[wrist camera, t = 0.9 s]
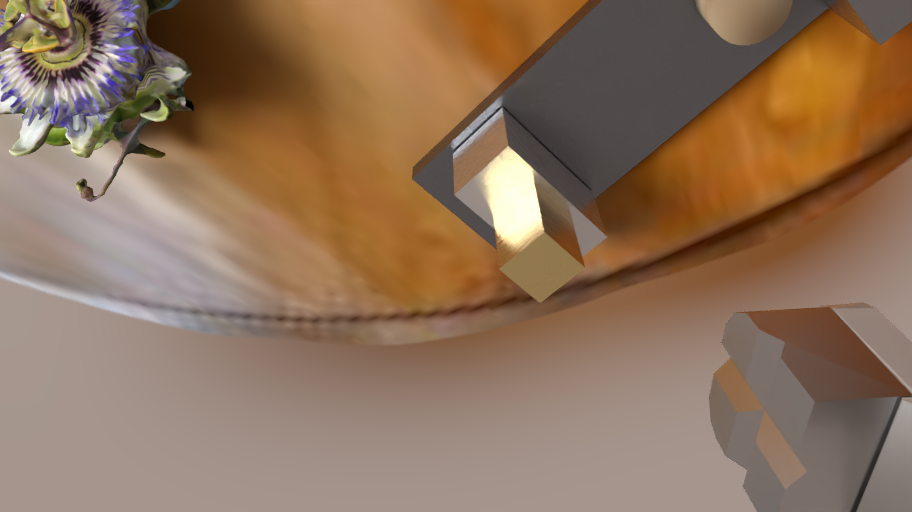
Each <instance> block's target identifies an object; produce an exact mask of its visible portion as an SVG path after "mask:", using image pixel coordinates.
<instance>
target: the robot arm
mask: <svg viewBox="0 0 912 512" xmlns="http://www.w3.org/2000/svg"><path fill="white" fill-rule="evenodd" d="M721 343H722V345H723V347H724V348H725V350H726V351H727V353H728V355H729V356H730V359H729V360H728V361H727V362H726V363H724V365H722V366H721V368H719V369H718V370H717V371H716V372H715V373H714V375H713V380H712V385H711V390H710V395H709V405H710V418H711V423H712V427H713V430H714V433H715V436H716V439H717V441H718V443H719V445H720V446H721V448H722V450H723V452H724V454H725V456H727V457H728V458H730V459H731V460H733V461H734V462H736V463H738V464H739V465H740V466H742V467H744V468H745V469H747V473H746V477H745V480H744V484H743V488H744V489H745V491H746V493H747V495H748V496H749V498H750V500H751V501H752V503H753V505H754V507H755V508H756V510H757V512H912V342H911V341H910V340H909V339H908V338H907V337H906V336H905V335H904V334H903V333H901V332H900V331H899V330H898V329H897V328H896V327H895V326H894V325H893V324H892V323H891V322H890V321H889V320H888V319H887V318H886V317H885V316H884V315H883V314H882V313H881V312H880V311H879V310H878V309H877V308H875V307H873V306H870V305H868V304H865V303H852V304H840V305H827V306H820V307H818V308H803V309H786V310H770V311H755V312H736V313H733V315H732V316H731V317H730V319H729V320H728V322H727V323H726V326H725V330H724V334H723V338H722V342H721Z"/></svg>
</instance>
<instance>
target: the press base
mask: <svg viewBox="0 0 912 512" xmlns="http://www.w3.org/2000/svg"><path fill="white" fill-rule="evenodd" d="M828 8H829V9H830V10H832V11H833V12H835V13H836V14H837V15H839V16H840V17H842V18H843V19H844V20H846V21H847V22H849V23H850V24H851V25H853V26H854V27H856V28H857V29H858V30H860V31H861V32H863V33H864V34H865V35H867V36H868V37H869V38H871V39H872V40H874V41H875V42H876V43H878V44H879V45H882V44H883V43H884V42H885V41H887V40H888V39H889V38H891V37H892V36H893V35H894V34H896V33H897V32H898V31H900V30H901V29H902V28H904V27H905V26H906V25H907V24H909V23H910V22H911V21H912V0H793V2H792V7H791V10H790V13H789V15H788V17H787V19H786V21H785V22H784V23H783V25H782V26H781V27H780V28H779V29H778V30H777V31H776V32H775V33H774V34H773V35H771V36H770V37H769V38H767V39H765V40H763V41H761V42H759V43H756V44H751V45H736V44H732V43H729V42H727V41H725V40H724V39H723V38H721V37H720V36H719V35H718V34H717V33H716V31H715V30H714V29H713V28H712V27H711V26H710V25H709V24H708V23H707V22H706V20H705V19H704V18H703V17H702V16H701V15H700V13H699V11H698V9H697V7H696V3H695V0H589V1H588V2H587V3H586V4H585V5H584V6H583V7H582V8H581V9H580V10H579V11H578V12H576V13H575V14H574V15H573V16H572V17H571V18H570V19H569V20H568V21H567V22H566V23H565V24H564V25H563V26H562V27H561V28H560V29H559V30H557V31H556V32H555V33H554V34H553V35H552V36H551V37H550V38H549V39H548V40H547V41H546V42H545V43H544V44H543V45H542V46H541V47H540V48H538V49H537V50H536V51H535V52H534V53H533V54H532V55H531V56H530V57H529V58H528V59H527V60H526V61H525V62H524V63H523V64H522V65H521V66H519V67H518V68H517V69H516V70H515V71H514V72H513V73H512V74H511V75H510V76H509V77H508V78H507V79H506V80H505V81H504V82H503V83H502V84H501V85H499V86H498V87H497V88H496V89H495V90H494V91H493V92H492V93H491V94H490V95H489V96H488V97H487V98H486V99H485V100H484V101H483V102H482V103H480V104H479V105H478V106H477V107H476V108H475V109H474V110H473V111H472V112H471V113H470V114H469V115H468V116H467V117H466V118H465V119H464V120H463V121H461V122H460V123H459V124H458V125H457V126H456V127H455V128H454V129H453V130H452V131H451V132H450V133H449V134H448V135H447V136H446V137H445V138H444V139H442V140H441V141H440V142H439V143H438V144H437V145H436V146H435V147H434V148H433V149H432V150H431V151H430V152H429V153H428V154H427V155H426V156H425V157H423V158H422V159H421V160H420V161H419V162H418V163H417V164H416V165H415V166H414V167H413V175H412V179H413V180H414V181H415V182H416V183H418V184H419V185H420V186H421V187H422V188H424V189H425V190H426V191H427V192H428V193H430V194H431V195H432V196H433V197H434V198H436V199H437V200H438V201H439V202H440V203H442V204H443V205H444V206H445V207H446V208H448V209H449V210H450V211H451V212H452V213H454V214H455V215H456V216H457V217H458V218H460V219H461V220H462V221H463V222H464V223H466V224H467V225H468V226H469V227H470V228H471V229H473V230H474V231H475V232H476V233H477V234H479V235H480V236H481V237H482V238H483V239H485V240H486V241H487V242H488V243H489V244H491V245H492V246H493V247H494V248H495V249H497V246H496V236H495V229H494V228H493V227H491V226H490V225H489V224H488V223H487V222H485V221H484V220H483V219H482V218H481V217H480V216H478V215H477V214H476V213H475V212H474V211H472V210H471V209H470V208H469V207H468V206H467V205H465V204H464V203H463V202H462V201H461V200H460V199H458V198H457V197H456V196H455V195H454V169H453V153H454V152H455V151H456V150H457V149H458V148H459V147H460V146H461V145H462V144H463V143H465V142H466V141H467V140H468V139H469V138H470V137H471V136H472V135H473V134H474V133H475V132H476V131H477V130H479V129H480V128H481V127H482V126H483V125H484V124H485V123H486V122H487V121H488V120H489V119H490V118H491V117H492V116H494V115H495V114H496V113H497V112H498V111H499V110H500V109H501V108H503V109H504V110H506V111H507V112H508V113H509V114H510V115H511V116H512V117H513V118H514V119H515V120H516V121H517V122H518V123H519V124H520V125H521V126H522V127H524V128H525V129H526V130H527V131H528V132H529V133H530V134H531V135H532V136H533V137H534V138H535V139H536V140H537V141H538V142H539V143H541V144H542V145H543V146H544V147H545V148H546V149H547V150H548V151H549V152H550V153H551V154H552V155H553V156H554V157H555V158H556V159H557V160H559V161H560V162H561V163H562V164H563V165H564V166H565V167H566V168H567V169H568V170H569V171H570V172H571V173H572V174H573V175H574V176H575V177H577V178H578V179H579V180H580V181H581V182H582V183H583V184H584V185H585V186H586V187H587V188H588V189H589V190H590V191H591V192H592V193H593V194H594V197H595V198H597V197H598V196H599V195H600V194H601V193H603V192H604V191H605V190H606V189H608V188H609V187H610V186H611V185H612V184H614V183H615V182H616V181H617V180H619V179H620V178H621V177H622V176H623V175H625V174H626V173H627V172H628V171H630V170H631V169H632V168H633V167H634V166H636V165H637V164H638V163H639V162H641V161H642V160H643V159H644V158H645V157H647V156H648V155H649V154H650V153H652V152H653V151H654V150H655V149H656V148H658V147H659V146H660V145H661V144H663V143H664V142H665V141H666V140H667V139H669V138H670V137H671V136H672V135H674V134H675V133H676V132H677V131H678V130H680V129H681V128H682V127H683V126H685V125H686V124H687V123H688V122H689V121H691V120H692V119H693V118H694V117H696V116H697V115H698V114H699V113H701V112H702V111H703V110H704V109H705V108H707V107H708V106H709V105H710V104H712V103H713V102H714V101H715V100H716V99H718V98H719V97H720V96H721V95H723V94H724V93H725V92H726V91H727V90H729V89H730V88H731V87H732V86H734V85H735V84H736V83H737V82H738V81H740V80H741V79H742V78H743V77H745V76H746V75H747V74H748V73H749V72H751V71H752V70H753V69H754V68H756V67H757V66H758V65H759V64H760V63H762V62H763V61H764V60H765V59H767V58H768V57H769V56H770V55H771V54H773V53H774V52H775V51H776V50H778V49H779V48H780V47H781V46H782V45H784V44H785V43H786V42H787V41H789V40H790V39H791V38H792V37H793V36H795V35H796V34H797V33H798V32H800V31H801V30H802V29H803V28H805V27H806V26H807V25H808V24H809V23H811V22H812V21H813V20H814V19H816V18H817V17H818V16H819V15H820V14H822V13H823V12H824V11H825V10H827V9H828Z"/></svg>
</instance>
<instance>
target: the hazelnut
mask: <svg viewBox="0 0 912 512" xmlns="http://www.w3.org/2000/svg"><path fill="white" fill-rule="evenodd" d="M792 2H793V0H695V3H696V7H697V9H698V11H699V13H700V15H701V16H702V17H703V18H704V19H705V20H706V22H707V23H708V24H709V25H710V26H711V27H712V28H713V29H714V30H715V31H716V33H717V34H718V35H719V36H720V37H721V38H723V39H724V40H725V41H727V42H729V43H732V44H736V45H751V44H756V43H759V42H761V41H763V40H765V39H767V38H769V37H770V36H771V35H773V34H774V33H775V32H776V31H777V30H778V29H779V28H780V27H781V26H782V25H783V23H784V22H785V21H786V19H787V17H788V15H789V13H790V10H791V7H792Z"/></svg>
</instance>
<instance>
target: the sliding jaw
mask: <svg viewBox="0 0 912 512" xmlns="http://www.w3.org/2000/svg"><path fill="white" fill-rule="evenodd" d="M453 169H454V195H455V196H456V197H457V198H458V199H460V200H461V201H462V202H463V203H464V204H465V205H467V206H468V207H469V208H470V209H471V210H472V211H474V212H475V213H476V214H477V215H478V216H480V217H481V218H482V219H483V220H484V221H485V222H487V223H488V224H489V225H490V226H491V227H493V228H494V229H495V236H496V246H497V255H498V264H499V270H501V271H502V272H503V273H504V274H505V275H507V276H508V277H509V278H510V279H511V280H513V281H514V282H515V283H516V284H518V285H519V286H520V287H521V288H522V289H524V290H525V291H526V292H527V293H529V294H530V295H531V296H532V297H533V298H535V299H536V300H537V301H538V302H539V303H541V302H542V301H543V300H544V299H546V298H547V297H548V296H550V295H551V294H552V293H553V292H555V291H556V290H557V289H559V288H560V287H561V286H562V285H564V284H565V283H566V282H568V281H569V280H570V279H571V278H573V277H574V276H575V275H577V274H578V273H579V272H580V271H582V270H583V269H584V268H585V265H584V262H583V258H582V257H583V256H584V255H585V254H587V253H588V252H589V251H590V250H592V249H593V248H594V247H595V246H597V245H598V244H599V243H601V242H602V241H603V240H604V239H606V238H607V234H606V231H605V228H604V225H603V222H602V219H601V216H600V213H599V210H598V207H597V204H596V200H595V197H594V194H593V193H592V192H591V191H590V190H589V189H588V188H587V187H586V186H585V185H584V184H583V183H582V182H581V181H580V180H579V179H578V178H577V177H575V176H574V175H573V174H572V173H571V172H570V171H569V170H568V169H567V168H566V167H565V166H564V165H563V164H562V163H561V162H560V161H559V160H557V159H556V158H555V157H554V156H553V155H552V154H551V153H550V152H549V151H548V150H547V149H546V148H545V147H544V146H543V145H542V144H541V143H539V142H538V141H537V140H536V139H535V138H534V137H533V136H532V135H531V134H530V133H529V132H528V131H527V130H526V129H525V128H524V127H522V126H521V125H520V124H519V123H518V122H517V121H516V120H515V119H514V118H513V117H512V116H511V115H510V114H509V113H508V112H507V111H506V110H504V109H503V108H501V109H500V110H499V111H498V112H497V113H496V114H495V115H494V116H492V117H491V118H490V119H489V120H488V121H487V122H486V123H485V124H484V125H483V126H482V127H481V128H480V129H479V130H477V131H476V132H475V133H474V134H473V135H472V136H471V137H470V138H469V139H468V140H467V141H466V142H465V143H463V144H462V145H461V146H460V147H459V148H458V149H457V150H456V151H455V152H454V153H453Z"/></svg>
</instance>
